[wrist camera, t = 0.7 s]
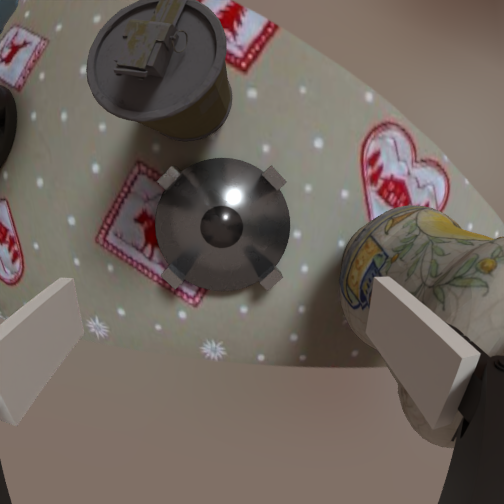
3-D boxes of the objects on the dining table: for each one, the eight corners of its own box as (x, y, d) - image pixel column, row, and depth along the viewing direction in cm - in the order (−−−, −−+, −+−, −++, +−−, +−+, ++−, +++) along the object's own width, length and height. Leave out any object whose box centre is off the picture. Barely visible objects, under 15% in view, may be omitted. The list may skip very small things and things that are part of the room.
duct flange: (124, 224, 39) (114, 230, 35) (223, 120, 36) (222, 116, 32) (223, 319, 42) (221, 331, 39) (324, 226, 40) (331, 232, 36)
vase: (457, 242, 41) (617, 322, 12) (392, 341, 44) (501, 486, 15) (370, 171, 38) (578, 199, 9) (297, 289, 42) (383, 485, 13)
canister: (217, 151, 37) (192, 131, 17) (136, 130, 36) (49, 103, 16) (244, 69, 34) (248, -16, 15) (164, 51, 33) (108, -30, 14)
